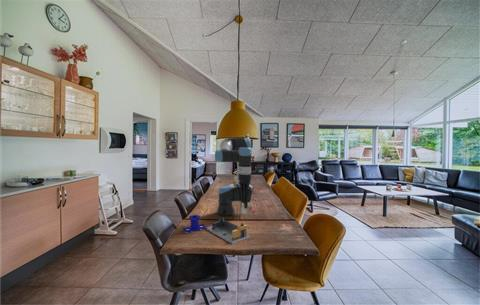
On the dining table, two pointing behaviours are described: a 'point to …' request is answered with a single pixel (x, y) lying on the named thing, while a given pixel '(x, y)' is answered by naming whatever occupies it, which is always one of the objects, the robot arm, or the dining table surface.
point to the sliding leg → (238, 231)
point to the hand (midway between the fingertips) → (244, 213)
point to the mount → (194, 224)
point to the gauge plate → (226, 231)
